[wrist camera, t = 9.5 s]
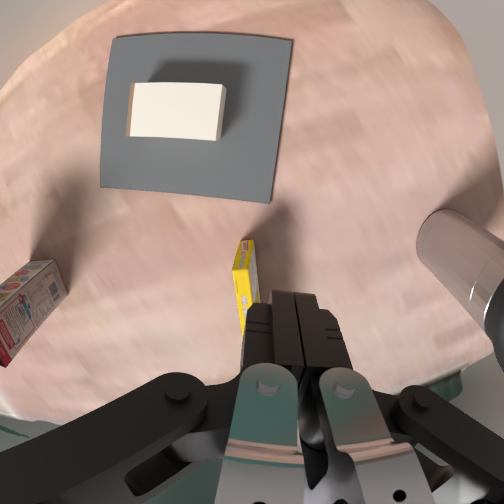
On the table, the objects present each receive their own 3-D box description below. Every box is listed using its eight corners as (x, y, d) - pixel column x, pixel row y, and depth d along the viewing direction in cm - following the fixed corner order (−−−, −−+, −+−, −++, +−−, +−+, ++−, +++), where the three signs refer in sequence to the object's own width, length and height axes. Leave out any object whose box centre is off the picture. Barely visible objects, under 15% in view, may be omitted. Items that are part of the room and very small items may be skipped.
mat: (291, 42, 28) (291, 41, 28) (269, 202, 36) (269, 204, 36) (114, 39, 28) (112, 38, 27) (101, 186, 36) (100, 187, 35)
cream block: (222, 84, 27) (130, 83, 27) (215, 140, 29) (125, 136, 29) (226, 89, 30) (144, 86, 30) (220, 139, 33) (139, 134, 33)
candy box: (237, 239, 39) (230, 269, 31) (253, 238, 38) (251, 268, 31) (250, 339, 45) (248, 379, 37) (264, 338, 45) (264, 378, 37)
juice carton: (67, 295, 43) (-7, 384, 23) (41, 295, 43) (-31, 375, 23) (55, 258, 40) (-35, 341, 20) (29, 261, 41) (-55, 335, 21)
